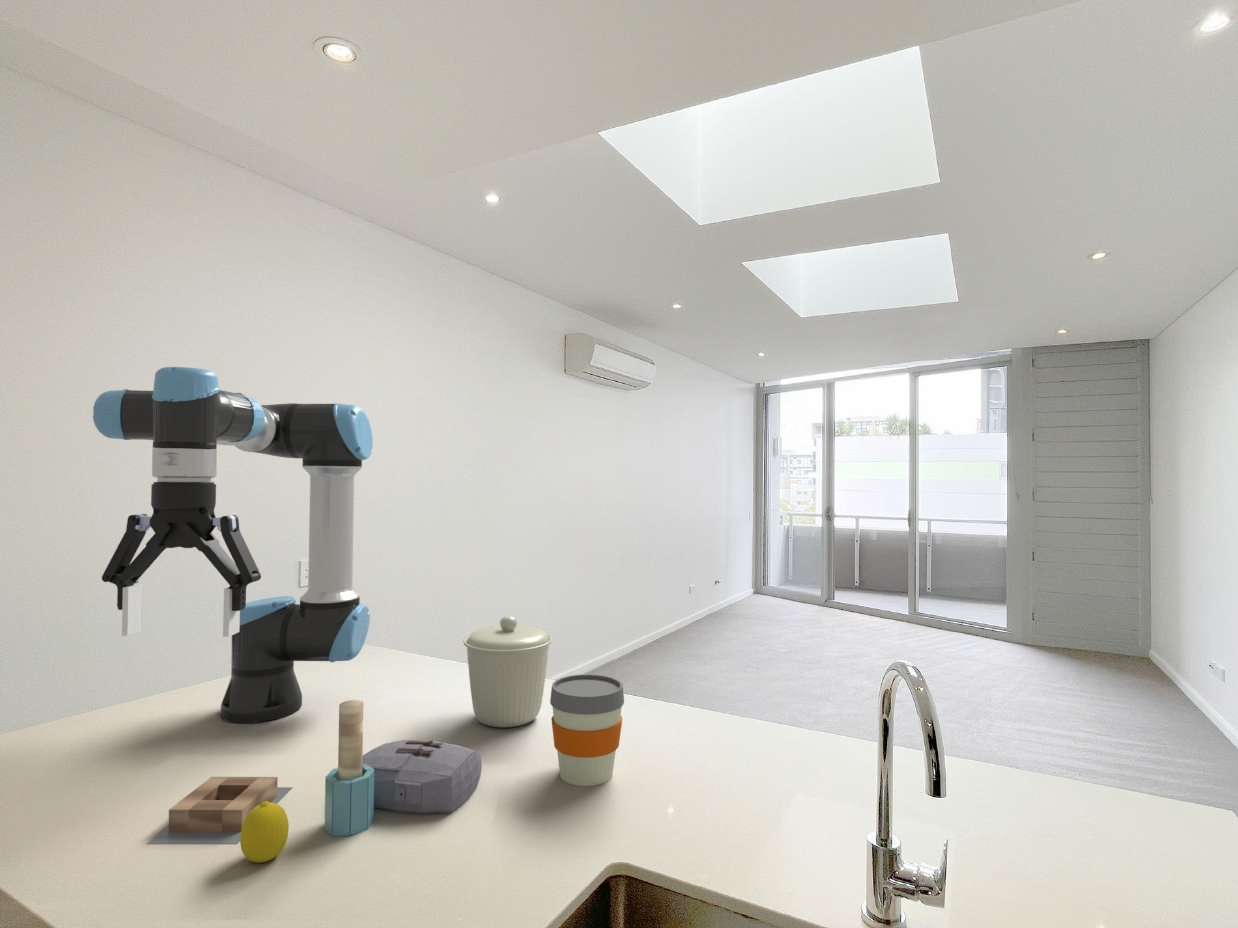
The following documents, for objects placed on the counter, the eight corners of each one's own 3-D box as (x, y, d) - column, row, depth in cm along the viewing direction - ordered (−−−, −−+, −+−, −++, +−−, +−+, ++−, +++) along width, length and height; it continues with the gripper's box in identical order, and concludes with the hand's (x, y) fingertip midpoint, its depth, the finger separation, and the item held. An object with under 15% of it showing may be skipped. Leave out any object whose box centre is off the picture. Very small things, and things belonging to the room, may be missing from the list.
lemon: (251, 852, 89) (252, 792, 89) (294, 851, 90) (295, 790, 90) (231, 877, 84) (232, 813, 84) (277, 876, 84) (278, 811, 84)
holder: (211, 796, 103) (211, 776, 103) (277, 796, 103) (277, 776, 103) (168, 831, 93) (168, 809, 93) (241, 831, 93) (242, 809, 93)
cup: (336, 818, 98) (337, 763, 98) (377, 818, 98) (378, 763, 98) (318, 841, 92) (319, 782, 92) (362, 841, 92) (363, 782, 92)
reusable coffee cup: (638, 773, 114) (639, 685, 114) (585, 799, 105) (586, 702, 105) (586, 751, 123) (588, 669, 123) (533, 773, 113) (534, 684, 113)
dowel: (342, 818, 97) (344, 699, 97) (364, 818, 97) (366, 699, 97) (333, 830, 93) (335, 707, 94) (356, 830, 93) (358, 707, 94)
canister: (568, 714, 141) (570, 614, 141) (510, 743, 126) (512, 630, 126) (504, 698, 151) (505, 604, 151) (443, 722, 136) (444, 618, 136)
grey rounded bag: (490, 782, 111) (379, 770, 114) (491, 731, 111) (380, 721, 115) (450, 829, 96) (324, 814, 100) (451, 771, 96) (325, 757, 100)
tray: (215, 792, 106) (215, 786, 106) (292, 792, 106) (292, 787, 106) (146, 849, 90) (146, 843, 90) (237, 849, 90) (237, 843, 90)
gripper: (71, 479, 89) (68, 639, 89) (261, 481, 89) (258, 641, 89) (113, 478, 96) (109, 626, 96) (288, 480, 97) (285, 628, 97)
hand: (181, 634), depth 93 cm, fingers open, 13 cm apart
